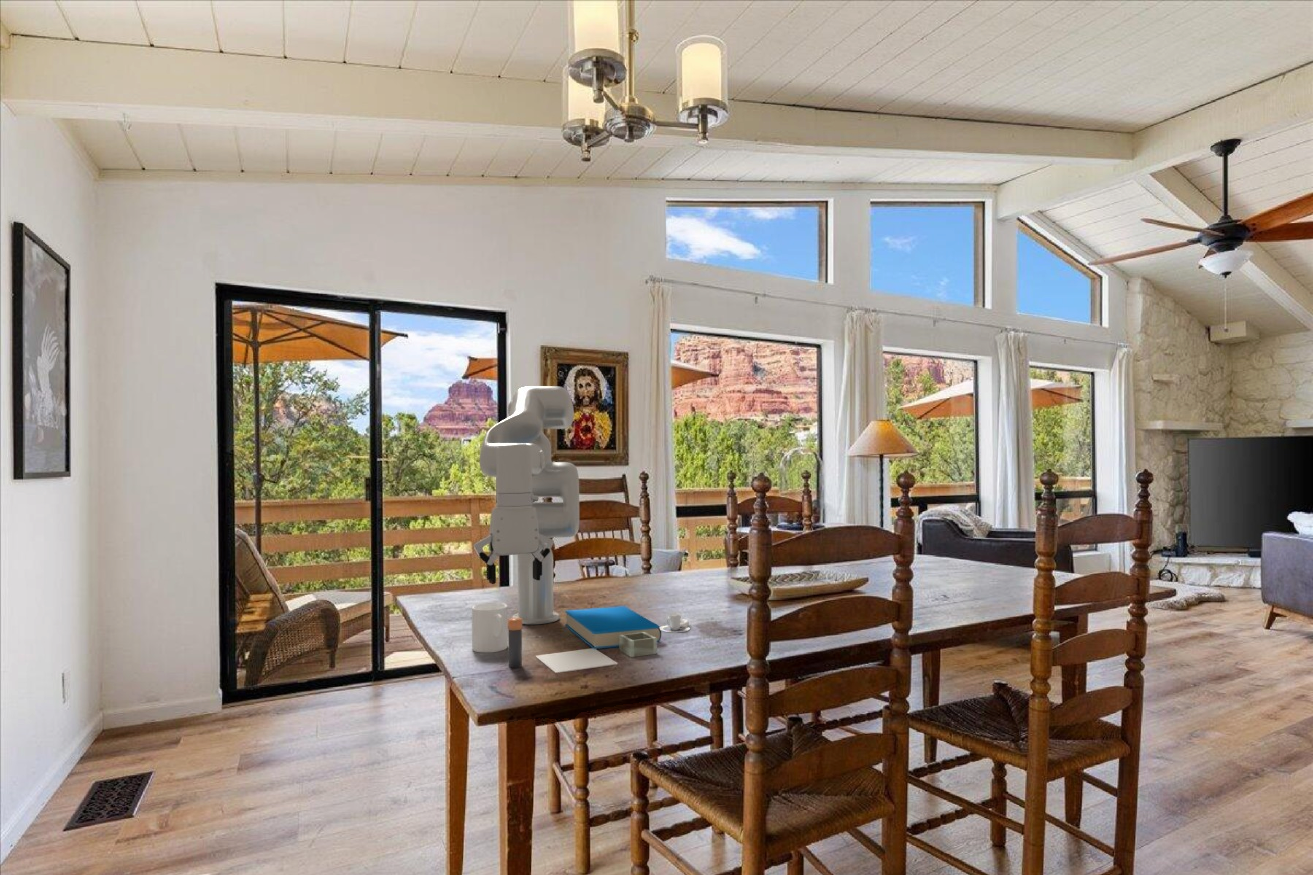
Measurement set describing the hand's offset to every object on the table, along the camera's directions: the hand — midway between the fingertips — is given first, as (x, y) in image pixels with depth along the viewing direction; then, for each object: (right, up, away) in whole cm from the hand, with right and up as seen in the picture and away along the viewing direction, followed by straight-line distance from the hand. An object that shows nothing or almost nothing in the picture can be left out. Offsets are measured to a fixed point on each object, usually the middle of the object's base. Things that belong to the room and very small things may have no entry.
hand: (514, 581), depth 165 cm
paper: (+13, -18, +4) cm, 22 cm away
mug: (-7, -19, +13) cm, 24 cm away
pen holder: (+26, -18, +11) cm, 33 cm away
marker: (0, -18, 0) cm, 18 cm away
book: (+19, -18, +27) cm, 38 cm away
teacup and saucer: (+38, -19, +32) cm, 53 cm away
